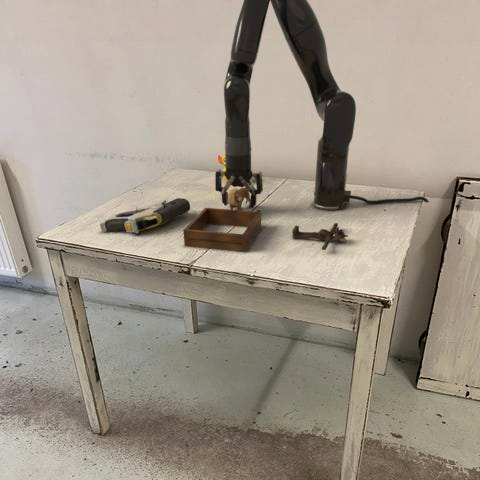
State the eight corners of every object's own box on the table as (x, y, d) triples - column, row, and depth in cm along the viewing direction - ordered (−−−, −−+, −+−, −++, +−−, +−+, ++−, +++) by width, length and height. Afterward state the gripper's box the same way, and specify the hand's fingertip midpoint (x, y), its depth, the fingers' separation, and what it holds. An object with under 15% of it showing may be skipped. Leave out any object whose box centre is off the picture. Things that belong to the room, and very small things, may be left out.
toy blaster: (94, 217, 137) (129, 222, 128) (157, 192, 153) (192, 195, 144) (100, 236, 139) (134, 242, 131) (161, 209, 155) (195, 213, 147)
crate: (261, 226, 139) (261, 211, 137) (245, 252, 125) (245, 235, 122) (206, 222, 143) (205, 207, 141) (184, 246, 129) (183, 230, 126)
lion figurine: (242, 221, 143) (241, 191, 138) (225, 220, 144) (224, 190, 139) (253, 204, 155) (253, 176, 150) (237, 203, 156) (237, 175, 151)
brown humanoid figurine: (301, 215, 138) (353, 215, 133) (302, 229, 140) (352, 230, 135) (284, 238, 124) (342, 240, 119) (285, 254, 126) (342, 256, 121)
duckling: (214, 181, 177) (213, 153, 172) (222, 178, 181) (221, 150, 176) (241, 186, 172) (240, 157, 167) (248, 182, 176) (248, 154, 171)
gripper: (210, 153, 138) (213, 208, 147) (259, 155, 135) (259, 211, 144) (218, 147, 144) (220, 200, 153) (265, 149, 141) (264, 203, 150)
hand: (239, 205), depth 148 cm, fingers open, 8 cm apart
